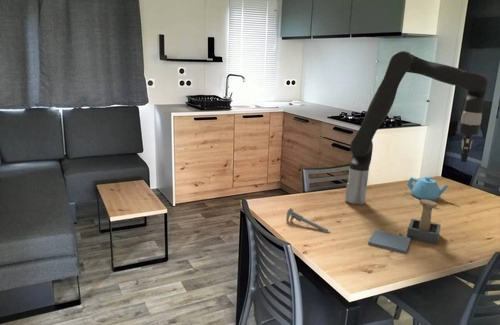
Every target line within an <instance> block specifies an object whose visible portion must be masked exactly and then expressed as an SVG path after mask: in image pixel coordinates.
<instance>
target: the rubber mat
mask: <svg viewBox="0 0 500 325" xmlns="http://www.w3.org/2000/svg"><path fill="white" fill-rule="evenodd" d="M411 241H412V240H411V238H409V237H407V236H404V235H399V234H395V233H390V232H386V231H382V230H379V229H378V230H377V229H374V231H373V233H372V235H371V236H370V238H369V240H368V242H367V244H368V245H369V246H370V245H371V246H374V247H378V248H383V249H387V250H391V251H395V252H400V253H404V254H407V251H408V249H409V246H410V243H411Z"/></svg>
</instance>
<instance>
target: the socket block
mask: <svg viewBox="0 0 500 325" xmlns="http://www.w3.org/2000/svg"><path fill="white" fill-rule="evenodd" d="M419 225H420V220H419V219H415V218H411V219H410V222H409V224H408V227H407V231H406V237H409V238H411V240H410V241H415V242H421V243H425V244H429V245H435V246H438V242H439V236H440V232H441V226H442V225H441V224H439V223H434V222H431V223H430V229H429V231H425V230H420V229H419Z"/></svg>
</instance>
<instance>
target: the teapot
mask: <svg viewBox="0 0 500 325" xmlns="http://www.w3.org/2000/svg"><path fill="white" fill-rule="evenodd" d="M413 182H415V183H414V184H413ZM406 185H407V188H408V189H410V191H411V193H412V195H413V196H414V197H415V198H417V199H420V200H422V199H426V200H430V201H435V200H438V199H439V198H440V197H441V196H442V194H443V193H444V192H445V191H446V190H447V188H448V187H449V185H448V184H445V185H444V186H442V187H441V188H440V187H439V184H438V182H437V181H436V180H435V179H433V177H432V176H424V177H422V178H421V177H420V178H419V179H418V178H416V177H413V176H411V177H410V178H409V180H408V182H407V184H406Z"/></svg>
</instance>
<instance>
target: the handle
mask: <svg viewBox="0 0 500 325" xmlns="http://www.w3.org/2000/svg"><path fill="white" fill-rule="evenodd" d="M419 204H420V205H421V206H422V211H421V217H420V225H419V229H420V230H425V231H429V229H430V223H432V222H431V221H432V212H433V209H435V208H437V205H438V203H437V202H435V201H434V200H426V199H420V200H419Z"/></svg>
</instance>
